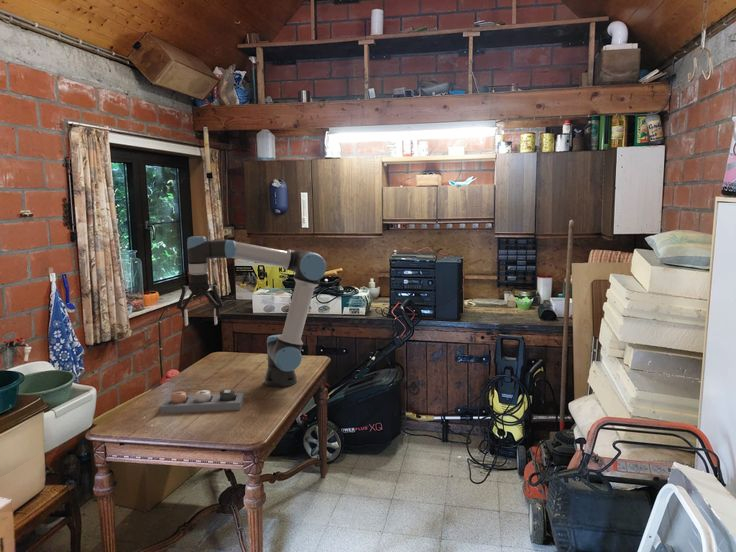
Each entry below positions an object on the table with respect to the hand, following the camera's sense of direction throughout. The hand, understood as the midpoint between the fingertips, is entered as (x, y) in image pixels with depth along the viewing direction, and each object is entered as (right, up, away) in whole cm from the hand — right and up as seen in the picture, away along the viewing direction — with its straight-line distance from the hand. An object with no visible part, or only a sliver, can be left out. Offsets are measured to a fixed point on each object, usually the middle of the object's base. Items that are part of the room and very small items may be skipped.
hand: (201, 324), depth 227 cm
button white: (+1, -32, -1) cm, 32 cm away
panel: (+1, -34, 0) cm, 34 cm away
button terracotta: (-9, -32, -2) cm, 33 cm away
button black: (+11, -32, 0) cm, 34 cm away
